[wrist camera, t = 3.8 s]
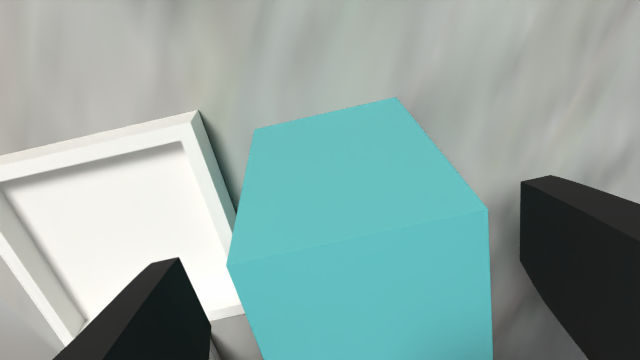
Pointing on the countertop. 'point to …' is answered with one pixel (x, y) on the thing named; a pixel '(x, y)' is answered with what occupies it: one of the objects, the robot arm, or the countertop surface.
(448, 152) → the countertop surface
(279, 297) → the teal block
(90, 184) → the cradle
